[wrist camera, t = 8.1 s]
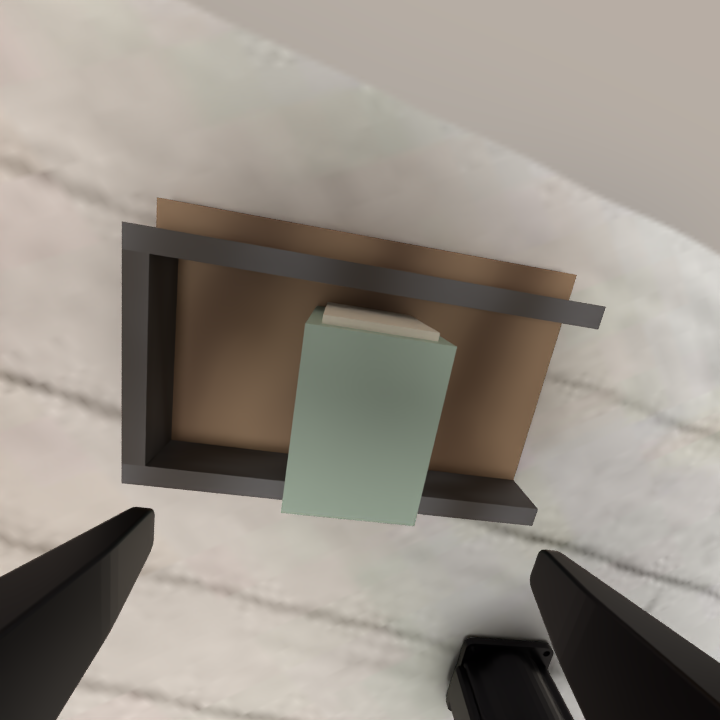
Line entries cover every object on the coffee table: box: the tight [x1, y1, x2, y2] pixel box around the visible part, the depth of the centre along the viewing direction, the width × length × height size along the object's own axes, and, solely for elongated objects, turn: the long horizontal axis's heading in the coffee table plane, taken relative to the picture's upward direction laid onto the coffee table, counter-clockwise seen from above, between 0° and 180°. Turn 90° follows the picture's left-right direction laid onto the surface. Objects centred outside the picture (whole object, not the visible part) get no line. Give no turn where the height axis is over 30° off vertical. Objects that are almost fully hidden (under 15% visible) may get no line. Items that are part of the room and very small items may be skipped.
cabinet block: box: [281, 302, 457, 526], centre depth 15 cm, size 5×7×6 cm
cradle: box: [122, 198, 606, 526], centre depth 17 cm, size 20×14×4 cm
